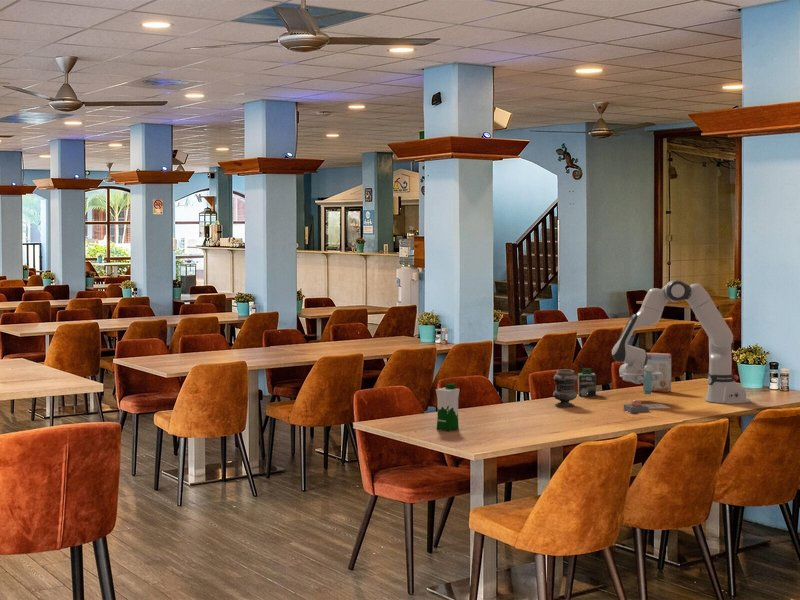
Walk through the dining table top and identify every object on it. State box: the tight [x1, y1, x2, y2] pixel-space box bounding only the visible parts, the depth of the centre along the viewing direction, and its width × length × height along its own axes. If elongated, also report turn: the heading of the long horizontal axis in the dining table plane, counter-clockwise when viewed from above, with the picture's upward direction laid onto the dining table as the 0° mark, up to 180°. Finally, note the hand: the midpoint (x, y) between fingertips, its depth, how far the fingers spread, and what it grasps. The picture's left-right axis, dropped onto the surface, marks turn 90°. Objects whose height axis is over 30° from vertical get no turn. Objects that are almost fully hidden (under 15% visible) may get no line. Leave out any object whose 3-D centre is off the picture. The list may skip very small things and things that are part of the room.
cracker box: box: [642, 352, 672, 393], centre depth 556 cm, size 14×6×21 cm, turn 59°
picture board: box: [643, 403, 672, 410], centre depth 504 cm, size 18×14×1 cm
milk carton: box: [435, 382, 460, 432], centre depth 448 cm, size 9×9×20 cm
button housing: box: [623, 403, 650, 414], centre depth 492 cm, size 9×9×3 cm
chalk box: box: [577, 367, 597, 397], centre depth 543 cm, size 9×9×15 cm
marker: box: [643, 366, 652, 395], centre depth 505 cm, size 4×4×14 cm
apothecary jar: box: [552, 368, 578, 408], centre depth 509 cm, size 12×12×18 cm
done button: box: [630, 399, 642, 407], centre depth 492 cm, size 4×4×4 cm
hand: (648, 378), depth 504 cm, fingers closed on marker, 4 cm apart
